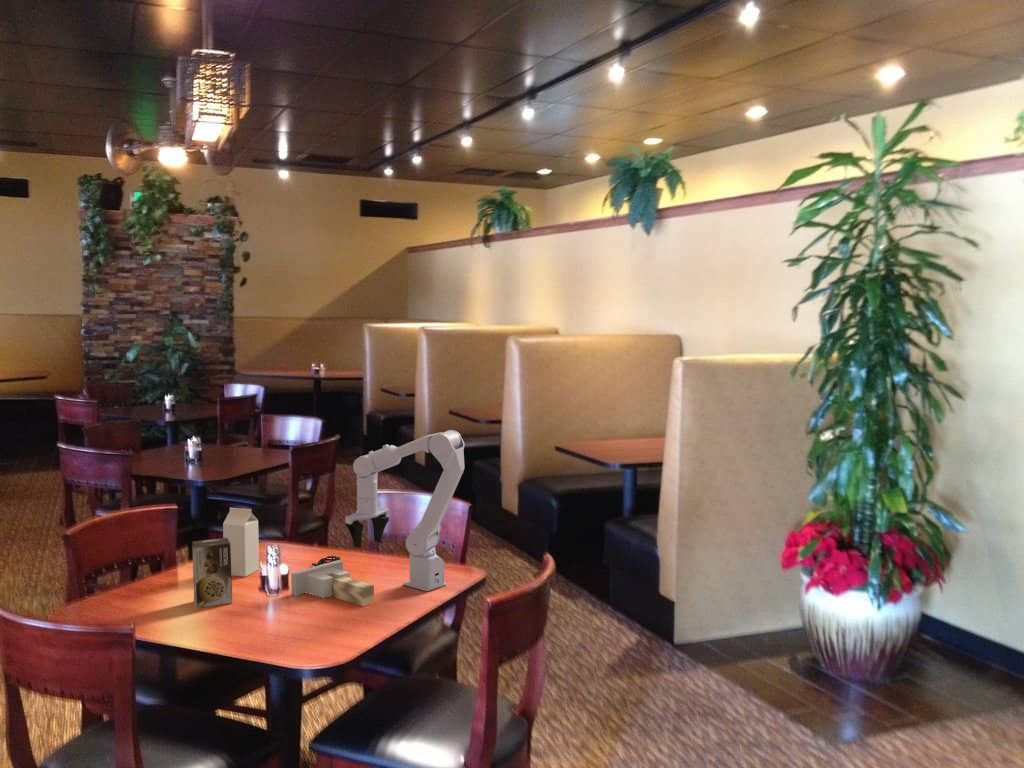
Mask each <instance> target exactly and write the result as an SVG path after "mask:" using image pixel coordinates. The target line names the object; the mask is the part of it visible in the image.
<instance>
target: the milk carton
mask: <svg viewBox="0 0 1024 768" xmlns="http://www.w3.org/2000/svg"><path fill="white" fill-rule="evenodd" d="M222 533H223V535H222V536H223V537H222V538H228V540H229V542H230V543H231V573H232V577H244V578H245V577H248V576H249V575H252V574H254V573H255V572H258V571H259V570H260V553H259V552H260V549H259V548H260V546H259V543H260V542H259V540H260V539H259V519H258V518H257V517H256V516H255V514H253V512H252V508H243V507H241V508H238V507H229V512H228V513H227V516H226V518H225V519H224V521H223V524H222Z"/></svg>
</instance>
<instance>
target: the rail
mask: <svg viewBox="0 0 1024 768" xmlns="http://www.w3.org/2000/svg"><path fill="white" fill-rule="evenodd" d="M333 592H334V596H333V598H336V599H339V600H342V601H346V602H348V603H351V602H352V604H354V603H355V605H358V606H361V607H365V606H366V605H367V606H369V605H368V604H370V605H372V604H371V603H373V604H374V603H375V585H374V584H372V583H368V582H365V581H362V580H359V579H356V578H351V577H350V578H348V577H345V576H342V577H339V578H333ZM367 606H366V607H367Z"/></svg>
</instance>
